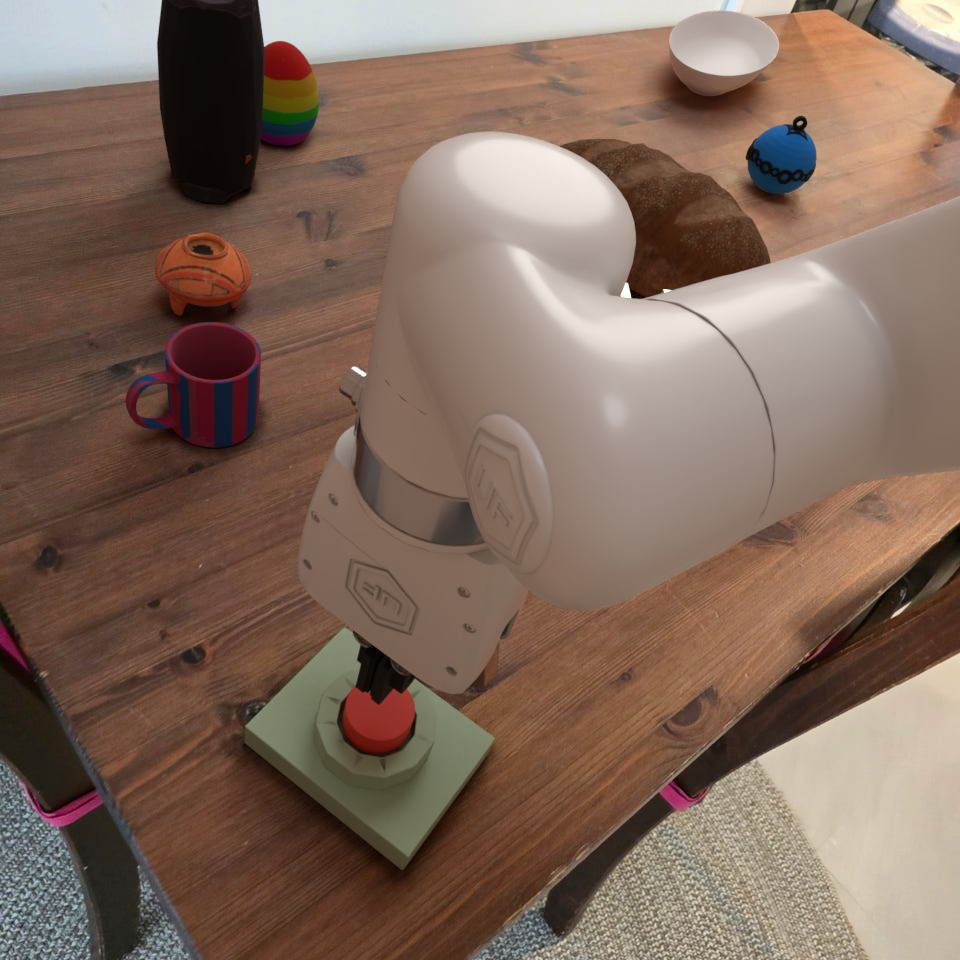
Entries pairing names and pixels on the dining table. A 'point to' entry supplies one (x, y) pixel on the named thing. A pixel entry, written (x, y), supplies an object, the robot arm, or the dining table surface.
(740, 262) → the bread
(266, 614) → the dining table surface
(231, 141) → the portable speaker
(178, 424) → the cup
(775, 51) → the bowl
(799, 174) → the ornament
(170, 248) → the pot
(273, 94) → the decorative egg
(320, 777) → the switch box
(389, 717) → the button
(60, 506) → the dining table surface
